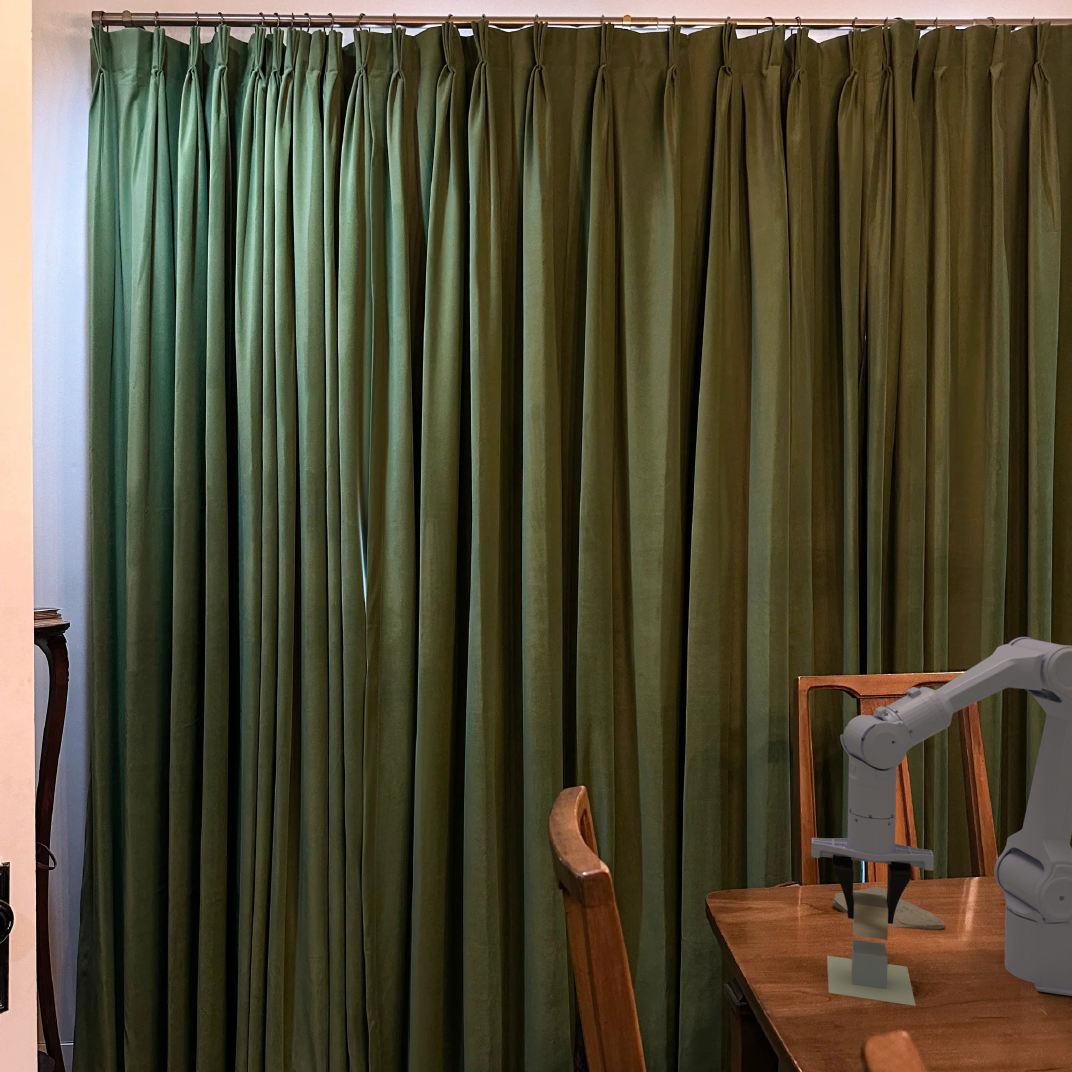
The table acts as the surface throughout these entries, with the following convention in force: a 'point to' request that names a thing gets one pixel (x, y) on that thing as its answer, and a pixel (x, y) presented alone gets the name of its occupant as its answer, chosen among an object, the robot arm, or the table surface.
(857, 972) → the slate cube
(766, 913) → the table surface
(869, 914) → the cream cube
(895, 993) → the plate
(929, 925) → the stone
